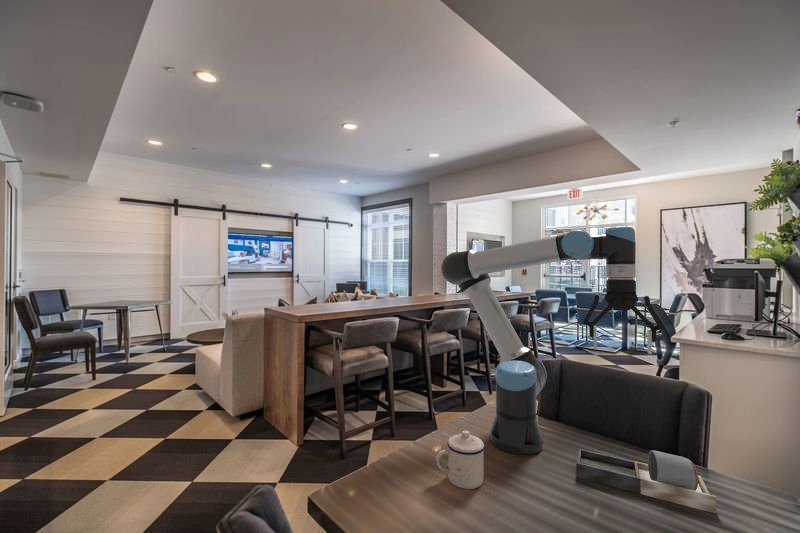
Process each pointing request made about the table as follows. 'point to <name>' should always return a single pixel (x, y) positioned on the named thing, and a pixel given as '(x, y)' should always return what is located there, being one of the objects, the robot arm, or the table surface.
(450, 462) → the teacup with lid
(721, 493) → the table surface
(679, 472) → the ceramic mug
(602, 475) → the box
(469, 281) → the robot arm
